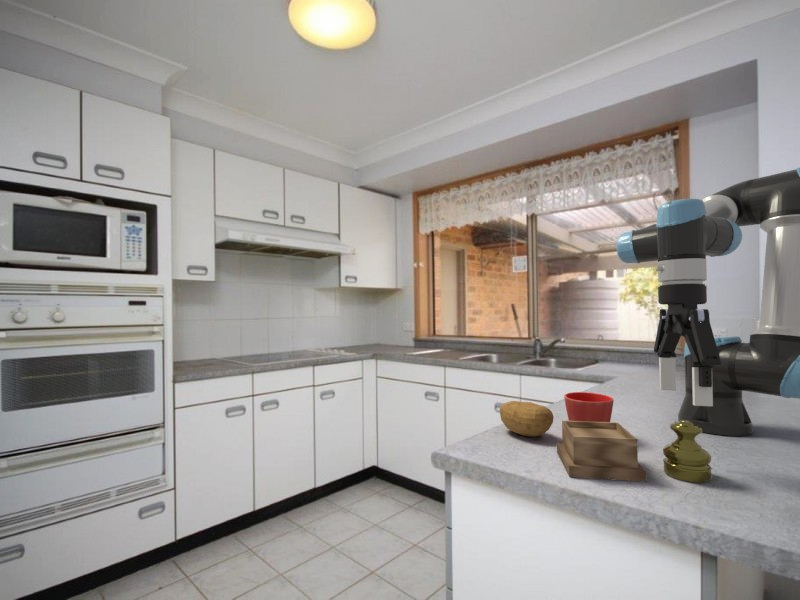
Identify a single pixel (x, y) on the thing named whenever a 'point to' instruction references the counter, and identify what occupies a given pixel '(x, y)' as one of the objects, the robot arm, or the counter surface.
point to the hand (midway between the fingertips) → (683, 397)
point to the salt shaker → (687, 455)
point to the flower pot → (588, 407)
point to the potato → (526, 418)
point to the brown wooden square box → (599, 451)
